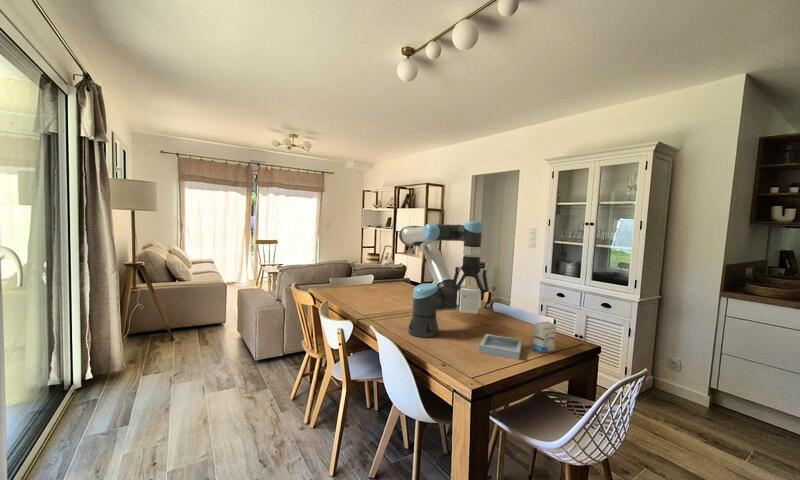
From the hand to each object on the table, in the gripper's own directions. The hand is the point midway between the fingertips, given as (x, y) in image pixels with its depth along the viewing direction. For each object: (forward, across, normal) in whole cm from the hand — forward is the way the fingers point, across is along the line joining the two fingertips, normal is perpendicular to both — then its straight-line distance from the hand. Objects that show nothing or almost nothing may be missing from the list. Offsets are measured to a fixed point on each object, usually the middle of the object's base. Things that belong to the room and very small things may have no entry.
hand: (468, 305), depth 152 cm
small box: (+3, 0, 0) cm, 3 cm away
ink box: (+17, +32, +9) cm, 38 cm away
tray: (+17, +15, 0) cm, 23 cm away
